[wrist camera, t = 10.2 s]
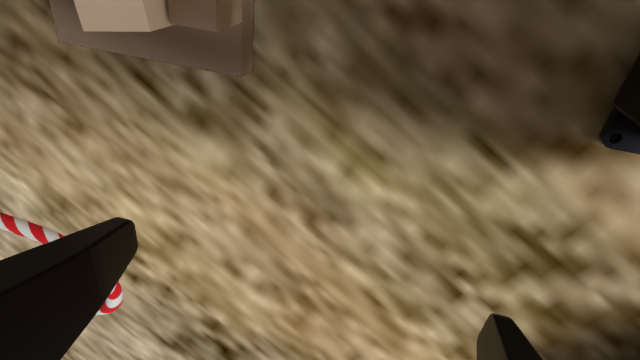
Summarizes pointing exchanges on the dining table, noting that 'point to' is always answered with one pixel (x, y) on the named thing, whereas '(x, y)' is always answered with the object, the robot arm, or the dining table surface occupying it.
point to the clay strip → (123, 15)
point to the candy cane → (47, 236)
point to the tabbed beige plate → (176, 35)
